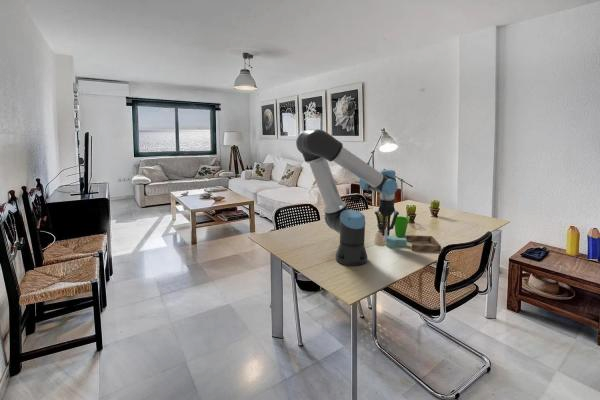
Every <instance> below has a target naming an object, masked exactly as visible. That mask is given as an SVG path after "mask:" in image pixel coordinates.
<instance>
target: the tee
mask: <svg viewBox="0 0 600 400" xmlns="http://www.w3.org/2000/svg"><path fill="white" fill-rule="evenodd" d="M407 243H408V241H407V240H406V237H394V236H393V235H389V236H387V242H385V244H386V247H387V248H388V249H391V248H392V249H395V248H396V247H407V245H408V244H407Z"/></svg>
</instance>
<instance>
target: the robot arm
mask: <svg viewBox="0 0 600 400" xmlns="http://www.w3.org/2000/svg"><path fill="white" fill-rule="evenodd" d="M295 145H296V146H295V147H296V148H297V150H298V151H299V152H300V154H302V157H303V159H304V162H305V163H307V164H309V166H310V169H311V172H312V175H313V178H314V180H315V182H316V186H317V187H318V190H319V194H320V195H321V198H322V201H323V204H324V206H325V207H324V209H323V212H324V221H325V224H326V225H327V226H328V227H329V228H330V229H331V230H332V231H335V232H336V233H338V234H339V245H338V247H337V251H336V254H335V261H336V262H337V263H339V264H341V265H344V266H350V267H351V266H352V267H353V266H354V267H356V266H357V267H359V266H363V265H365V264H367V263H368V258H369V257H368V254H367V253H368V252H367V249H366V247H365V237H366V236H365V232H366V216H365V215H364V213H363V212H361V211H358V210H354V209H348V207H347V204H346V202H345V201H343V200H342V198H341V195H340V191H339V190H338V187H337V184H336V181H335V179H334V175H333V173H332V169H331V168H330V164H329V162H333V163H336V164H337V165H338V166H340V167H341V168H343V169H345V170H346V171H347V172H349V173H351V174H352V175H353V176H355V177H357V178H358V179H359V180H358V181H359V182H358V183H359V187H360V189H361V190H363V191H374V192H378V193H380V194H379V198H380V199H379V208H378V209H377V210H374V214H375V217H376V221H377V226H378V228H379V230H381V235H382V236H383V242H384V243H386V242H387V236H390V231H391V230H393V229H394V228H395V225H394V224H395V221H396V218H397V216H399V214H400V213H399V211H397V210H396V208H395V194H396V192H397V191H398V187H399V185H398V183H397V182H398V181H396V177H397V176H396V171H395V170H392V169H383V170H380V172H379V170H377V169H376V168H374V167H372V166H371V165H369V164H368V163H367V162H365V161H364V160H363V159H362V158H360V157H358V156H357V155H356V154H354V153H352V152H351V151H350V150H349V149H347V148H345V147H344V145H343V143H342V142H341V141H339V139H337V138H335V137H334V136H333V135H331V134H329V133H328V132H327V131H325V130H323V129H318V128H317V129H311V128H310V129H306V130H302V131H301V132H300V133H299V134H298V135H297V138H296V141H295ZM392 214H393V217H392V220H391V216H392ZM380 215H382V220H381V219H380ZM381 221H382V222H381Z"/></svg>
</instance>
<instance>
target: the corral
mask: <svg viewBox="0 0 600 400" xmlns="http://www.w3.org/2000/svg"><path fill="white" fill-rule="evenodd" d="M405 238H406V240H407V242H424V243H425V242H429V243H430V244H419V243H418V244H413V243H412V244H411V249H410V250H411V251H414V252H415V251H416V252H438V253H439V252H441V250H442V249H441V248H442V245H440V243H439V242H438V241H437V240H436V239H435V237H434V236H433V235H413V234H412V235H410V234H408V235H407V234H405Z"/></svg>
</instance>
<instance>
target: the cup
mask: <svg viewBox="0 0 600 400" xmlns="http://www.w3.org/2000/svg"><path fill="white" fill-rule="evenodd" d="M409 221H410V218H409V217H407V216H402V215H401V216H400V215H398V216H397V218H396V221H395V224H394V231H395V233H394V235H395V238H405V237H406V234H407V229H408V225H409Z"/></svg>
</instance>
